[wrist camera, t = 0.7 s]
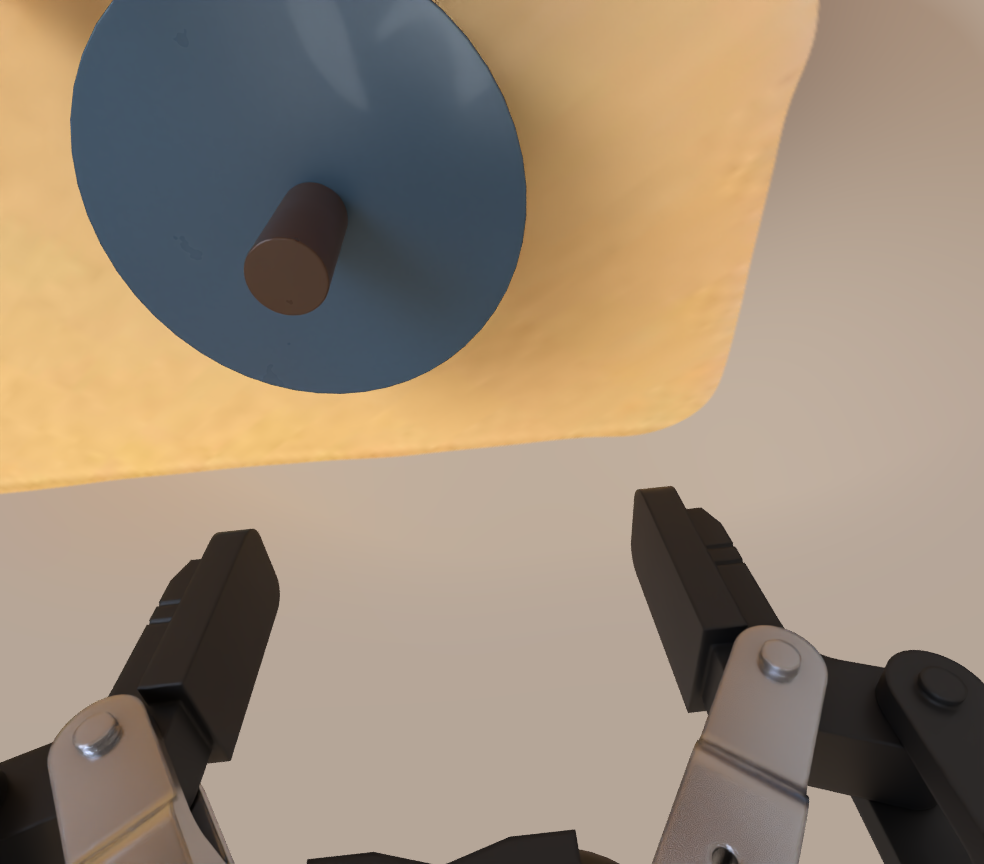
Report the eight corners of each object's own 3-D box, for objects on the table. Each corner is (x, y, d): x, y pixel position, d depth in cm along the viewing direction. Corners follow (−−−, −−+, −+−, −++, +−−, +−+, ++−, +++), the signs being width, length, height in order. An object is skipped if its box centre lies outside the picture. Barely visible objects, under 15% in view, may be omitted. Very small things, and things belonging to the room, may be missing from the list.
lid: (136, 366, 28) (57, 470, 22) (19, -124, 17) (-192, -187, 11) (488, 394, 31) (506, 492, 25) (564, -7, 21) (627, -7, 15)
